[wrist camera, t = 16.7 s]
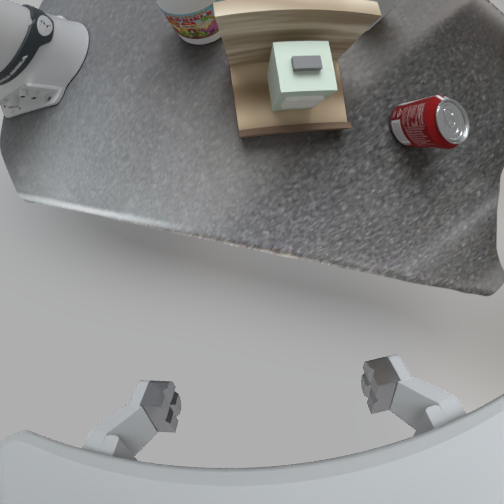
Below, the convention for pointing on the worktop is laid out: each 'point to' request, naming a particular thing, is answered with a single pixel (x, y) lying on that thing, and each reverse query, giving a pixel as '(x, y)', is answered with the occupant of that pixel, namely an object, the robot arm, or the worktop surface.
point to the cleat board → (282, 30)
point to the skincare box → (384, 8)
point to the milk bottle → (192, 19)
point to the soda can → (430, 123)
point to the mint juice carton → (300, 74)
